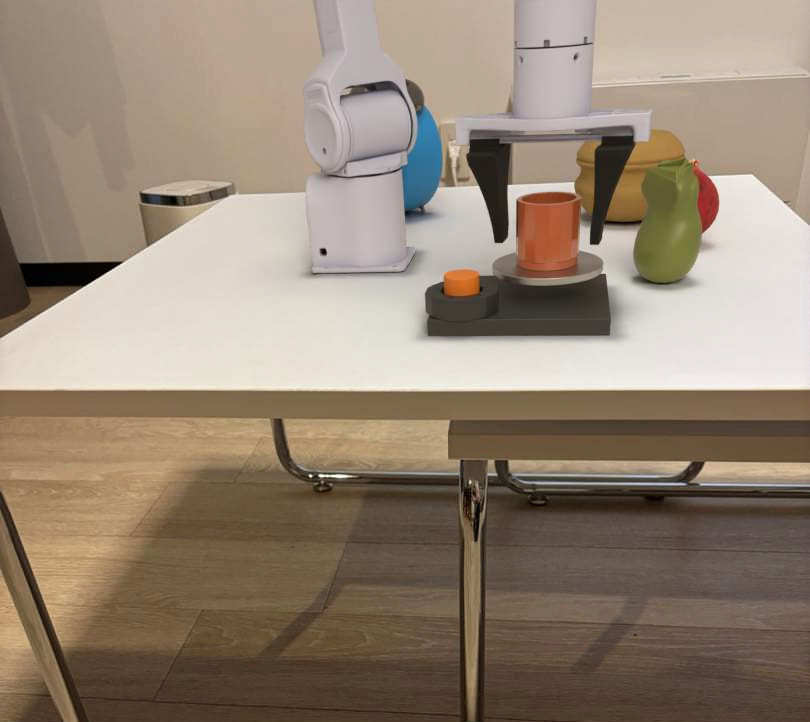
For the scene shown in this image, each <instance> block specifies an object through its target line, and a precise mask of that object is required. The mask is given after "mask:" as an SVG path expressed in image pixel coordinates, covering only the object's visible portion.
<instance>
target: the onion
mask: <svg viewBox="0 0 810 722" xmlns="http://www.w3.org/2000/svg"><path fill="white" fill-rule="evenodd" d="M688 162H689V163H690V162H693V164H694V166H693V173H695V174H696V175H697V177H698V183H699V195H698V201H697V207H698V212H699V215H700V219H701V224H702V235H703V234H705V232H706V231H708V230H709V229H710V228H711V226H712V225H713V223H714V222H715V221H716V219H717V216H718V214H719V211H720V210H719V209H720V195H719V191H718V188H717V186H716V185H715V183H714V181H713V180H712V179H711V177H709V176H708V175H707V174H706V173H705V172H703V171H702V170H701V169H700V167H699V165H700V162H699V161H698V160H697V159H696V158H690V159H689V160H688Z"/></svg>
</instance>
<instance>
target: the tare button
mask: <svg viewBox="0 0 810 722" xmlns="http://www.w3.org/2000/svg"><path fill="white" fill-rule="evenodd" d="M479 276H480V272H478V271H477V270H474V269H468V268H467V269H465V268H464V269H463V268H461V269H454V270H449V271H446V272H445V273H444V274H443V282H444V294H445V295H450V296H468V295H473V294H477V293H480V285H479Z"/></svg>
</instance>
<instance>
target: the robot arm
mask: <svg viewBox="0 0 810 722" xmlns="http://www.w3.org/2000/svg"><path fill="white" fill-rule="evenodd" d="M312 2H313V9H314V15H315V21H316V27H317V32H318V33H317V34H318V38H319V43H320V50H321V55H322V59H321V60H320V61H319V63H318V64H317V65H316V67H315V68H314V69H313V71H312V72H311V73H310V75H309V76H308V77H307V79H306V80H305V82H304V83H303V84H302V87H301V90H302V96H303V102H304V119H303V135H304V142H305V145H306V148H307V151H308V153H309V155H310V157H311V158H312V160H313V162H314V163H315V164H316V166H318V167H319V168H320V171H319V172H313V173H310V174H309V175H308V177H307V179H306V184H305V198H304V199H305V212H306V219H307V227H308V238H309V245H310V253H311V261H312V267H311V273H313V274H339V273H341V274H344V273H348V274H349V273H395V272H396V273H397V272H398V273H399V272H404V271H405V270H406V269H407V267H408V265H409V264H410V262H411V260H412V259H413V257H414V255H415V254H416V252H417V247H415V246H407V231H406V230H407V229H406V213H405V212H406V211H405V212H404V196H403V179H402V168H401V166H403V165H407V155H408V154H409V153H410V152H411V150H412V149H413V147H414V145H415V142H416V138H417V130H418V122H417V115H416V111H415V108H414V105H413V103H412V101H411V99H410V96H409V94H408V91H407V87H406V82H405V79H406V75H405V71H404V69H403V68H402V67H401V66H400V65H399V64H398V63H397V62H396V60H394V59H393V58H392V57H390V56H389V55H388V54H387V53H386V52H385V51H384V50H383V49H382V47H381V41H380V34H379V27H378V26H379V25H378V19H377V13H376V6H375V0H312ZM597 3H598V2H597V0H513V85H512V86H513V87H512V88H513V89H512V91H513V92H512V93H513V97H512V98H513V99H512V100H513V101H512V103H513V105H512V107H513V109H512V111H509V112H496V113H484V114H483V113H482V114H462V115H460V116H458V117H456V118H455V119H454V129H455V135H454V136H455V146H456V147H464V146H465V147H467V146H468V147H469V148H468V152H467V153H466V154H465V158H466V163H467V166H468V167H469V169H470V171H471V173H472V174H473V177H474V179H475V181H476V183H477V185H478V188H479V190H480V193H481V195H482V197H483V200H484V203H485V205H486V206H485V207H486V210H487V213H488V217H489V220H490V225H491V229H492V234H493V241H494V242H493V243H494V244H504V242H505V241H507V239H508V238H509V227H510V226H509V225H510V219H509V218H510V217H509V199H508V197H509V196H508V195H509V193H508V192H509V191H508V190H509V189H508V188H509V171H510V160H511V148H512V144H538V143H539V144H540V143H541V144H542V143H584V142H597V141H601V144H600V146H598V147H597V148H596V149H595V155H594V158H595V175H594V205H593V213H592V216H591V222H590V229H589V246H598V245H600V244H601V242H602V240H603V235H604V229H605V228H604V227H605V223H606V220H605V219H606V216H607V212H608V209H609V205H610V202H611V200H612V197H613V194H614V191H615V189H616V186H617V184H618V181H619V179H620V177H621V174H622V172H623V170H624V168H625V165H626V163H627V161H628V159H629V157H630V155H631V153H632V151H633V149H634V147H635V145H636V143H635V142H648V141H649V139H650V136H651V129H652V123H653V113H654V110H653V108H652V109H600V108H599V109H597V108H592V94H593V93H592V91H593V73H594V55H595V53H594V52H595V39H596V38H595V36H596V19H597V18H596V17H597ZM355 87H363V88H365V89H367V90H368V91H366V92H360V93H353V94H349V93H347V94H342V93H343V92H344V90H348V89H351V88H355ZM564 131H574V133H546V132H564ZM527 132H528V133H537V134H526V133H527ZM539 133H542V134H539ZM543 133H544V134H543Z"/></svg>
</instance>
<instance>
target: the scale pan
mask: <svg viewBox="0 0 810 722" xmlns="http://www.w3.org/2000/svg"><path fill="white" fill-rule="evenodd" d="M603 271H604V260H603V259H602V257H600V256H598V255H597V254H594V253H591V252H588V251H583V250H579V254H578V263H577V264H576V265H574V266H572V267H570V268H566V269H561V270H554V271H535V270H528V269H524V268H521V267H519V266H518V265H517V264H516V252H511V253H508V254H506V255H505V254H504V255H502V256H500V257H498V258H497V259H495V260H494V261H493V262H492V266H491V273H492V275H494V276H495V277H496V278H498V279H500V280H502V281H505V282H509V283H513V284H519V285H529V286H557V285H567V284H573V283H578V282H583V281H586V280H589V279H592V278H594V277H596V276H598V275H599V274H602V272H603Z"/></svg>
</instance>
